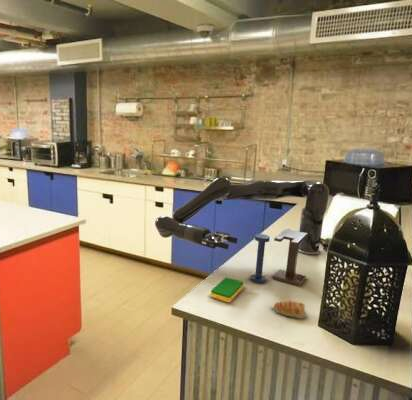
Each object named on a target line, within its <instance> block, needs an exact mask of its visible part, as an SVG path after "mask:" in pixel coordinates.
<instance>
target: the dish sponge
mask: <svg viewBox="0 0 412 400" xmlns="http://www.w3.org/2000/svg"><path fill="white" fill-rule="evenodd" d="M244 288H245V282H244V281H242V280H237V279H233V278H230V277H224V278H223V279H222V280H221V281H220V282H218V283H217V284H216V285H215V286H214V287H213V288H212V289H211V290H210V297H211V298H214V299H217V300H220V301H223V302H226V303H231V302H232V301H233V300H234V299H235V297H237V295H239V293H240V292H241V291H242V290H244Z"/></svg>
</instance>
